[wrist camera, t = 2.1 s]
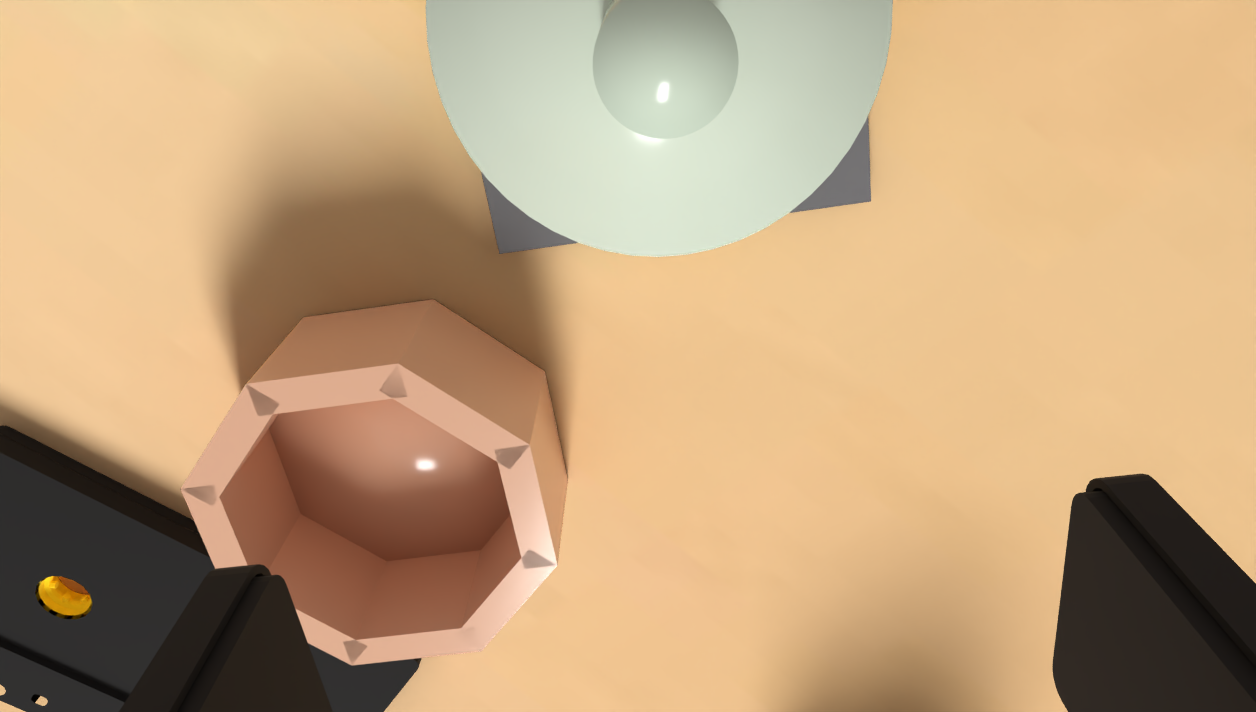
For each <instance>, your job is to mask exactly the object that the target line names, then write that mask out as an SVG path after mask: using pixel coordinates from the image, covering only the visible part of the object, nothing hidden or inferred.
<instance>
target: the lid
mask: <svg viewBox="0 0 1256 712" xmlns="http://www.w3.org/2000/svg"><path fill="white" fill-rule="evenodd" d="M892 4H893V0H426V24H427V42H428V48H429V53H430V59H431V65H432V71H433V75H434V78H435V81H436V85H437V88H438V91H439V95H440V98H441V101H442V104H443V106H444V108H445V111H446V113H447V115H448V117H449V120H450V122H451V124H452V127H453V129H454V131H455V132H456V134H457V136H458V138H459V139H460V141H461V143H462V144H463V146H464V148H465V149H466V151H467V153H468V154H469V156H470V157H471V159H472V160H473V161H474V162H475V164H476V165H477V166H478V168H479V169H480V170H481V172H482V173H483V174H484V175H485V177H486V178H487V179H488V180H489V181H490V182H491V183H492V184H493V185H494V186H495V187H496V188H497V189H498V190H499V191H500V192H501V193H502V194H503V195H504V196H505V197H506V198H507V199H508V200H509V201H510V202H511V203H513V204H514V205H515V206H516V207H518V208H519V209H520V210H521V211H523V212H524V213H525V214H526V215H528V216H529V217H531V218H532V219H534V220H535V221H537V222H539V223H540V224H542V225H544V226H545V227H547V228H549V229H550V230H552V231H554V232H556V233H558V234H560V235H563V236H565V237H567V238H569V239H571V240H574V241H576V242H578V243H581V244H584V245H588V246H591V247H594V248H597V249H601V250H604V251H609V252H615V253H621V254H626V255H633V256H654V257H662V256H675V255H687V254H692V253H697V252H702V251H707V250H712V249H715V248H718V247H721V246H724V245H727V244H730V243H733V242H736V241H739V240H741V239H743V238H746V237H748V236H750V235H752V234H754V233H756V232H758V231H760V230H762V229H764V228H766V227H768V226H769V225H771V224H772V223H774V222H775V221H777V220H779V219H780V218H782V217H783V216H785V215H786V214H788V213H789V212H791V211H792V210H793V209H794V208H795V207H797V206H798V205H799V204H800V203H802V202H803V201H804V200H805V199H806V198H808V197H809V196H810V195H811V194H812V193H813V192H814V191H815V190H816V189H817V188H818V187H819V186H820V185H821V184H822V183H823V182H824V181H825V180H826V179H827V178H828V176H829V175H830V174H831V173H832V172H833V171H834V169H835V168H836V167H837V165H838V164H839V163H840V161H841V160H842V159H843V157H844V156H845V155H846V153H847V152H848V151H849V149H850V148H851V146H852V144H853V142H854V141H855V139H856V137H857V136H858V134H859V132H860V130H861V129H862V127H863V125H864V123H865V121H866V119H867V117H868V114H869V112H870V110H871V107H872V105H873V103H874V100H875V98H876V96H877V93H878V90H879V86H880V83H881V79H882V76H883V73H884V69H885V66H886V61H887V55H888V49H889V43H890V37H891V28H892Z"/></svg>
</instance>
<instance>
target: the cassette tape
mask: <svg viewBox="0 0 1256 712" xmlns="http://www.w3.org/2000/svg"><path fill="white" fill-rule="evenodd" d="M58 463H59V464H58ZM60 464H61V465H60ZM62 465H63V466H62ZM64 466H65V467H64ZM66 467H67V468H66ZM68 468H69V469H68ZM70 469H71V470H70ZM72 470H73V471H72ZM137 503H138V504H137ZM139 504H140V505H139ZM141 505H142V506H141ZM143 506H144V507H143ZM145 507H146V508H145ZM147 508H148V509H147ZM149 509H150V510H149ZM151 510H152V511H151ZM214 569H215V567H214V565H213V563H212V560H211V558H210V556H209V553H208V551H207V549H206V547H205V544H204V542H203V540H202V537H201V535H200V533H199V530H198V528H197V526H196V524H195V521H193V520H191V519H189V518H187V517H186V516H184V515H182V514H180V513H178V512H176V511H174V510H172V509H170V508H168V507H166V506H164V505H162V504H160V503H158V502H156V501H154V500H152V499H150V498H148V497H146V496H144V495H142V494H140V493H138V492H136V491H134V490H132V489H130V488H128V487H126V486H124V485H123V484H121V483H119V482H117V481H115V480H113V479H111V478H109V477H107V476H105V475H103V474H101V473H99V472H97V471H95V470H93V469H91V468H89V467H87V466H85V465H83V464H81V463H79V462H77V461H75V460H73V459H71V458H69V457H67V456H65V455H63V454H62V453H60V452H58V451H56V450H54V449H52V448H50V447H48V446H46V445H44V444H42V443H40V442H38V441H36V440H34V439H32V438H30V437H28V436H26V435H24V434H22V433H20V432H18V431H16V430H14V429H12V428H10V427H8V426H0V684H1V685H2V686H3V687H5V690H6V692H5V694H4V695H1V696H0V701H2V702H5V703H7V704H9V705H12V706H14V707H16V708H19V709H21V710H23V711H26V712H119V711H120V709H121V708H122V706H123V705H124V703H125V701H126V700H127V698H128V697H129V695H130V694H131V692H132V690H133V689H134V687H135V686H136V684H137V683H138V681H139V680H140V678H141V676H142V675H143V673H144V672H145V670H146V669H147V667H148V665H149V664H150V662H151V661H152V659H153V658H154V656H155V655H156V653H157V651H158V650H159V648H160V647H161V645H162V644H163V642H164V640H165V639H166V637H167V636H168V634H169V633H170V631H171V629H172V628H173V626H174V625H175V623H176V622H177V620H178V619H179V617H180V615H181V614H182V612H183V611H184V609H185V608H186V606H187V604H188V603H189V601H190V600H191V598H192V597H193V595H194V594H195V592H196V590H197V589H198V587H199V586H200V584H201V583H202V581H203V579H204V578H205V576H206V575H207V574H208V573H209V572H210V571H212V570H214ZM58 576H60V577H61V576H63V577H66V578H69V579H72V580H74V581H76V582H77V583H79V584H80V585H82V586H83V587H84V588H85V589H86V590H87V591H88V593H89V595H83V594H79V593H76V592H74V591H72V590H70V589H68V588H67V587H66V586H65V585H64V584H63V583H62V582H61V581H60V579H59V577H58ZM308 645H309V648H310V650H311V653H312V656H313V659H314V661H315V664H316V667H317V670H318V672H319V675H320V678H321V681H322V683H323V686H324V689H325V692H326V694H327V697H328V700H329V703H330V705H331V708H332V711H333V712H384V711H385V709H386V708H387V707H388V706H389V704H390V703H391V702H392V701H393V699H394V698H395V697H396V696H397V694H398V693H399V692H400V691H401V689H402V688H403V687H404V686H405V684H406V683H407V682H408V681H409V679H410V678H411V677H412V676H413V674H414V673H415V672H416V671H417V669H418V667H419V664H420V661H421V658H415V659H406V660H397V661H388V662H379V663H370V664H361V665H350V664H348V663H346V662H344V661H342V660H340V659H338V658H336V657H334V656H332V655H330V654H328V653H326V652H325V651H323V650H321V649H319V648H317V647H315V646H313V645H311V644H309V643H308ZM40 696H43V697H45V698H46V699H47V700H48V703H47V705H45V706H41V705H38V704H36V703H35V702H36V701H37V699H38V698H39V697H40Z"/></svg>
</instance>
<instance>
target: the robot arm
mask: <svg viewBox="0 0 1256 712" xmlns="http://www.w3.org/2000/svg"><path fill="white" fill-rule="evenodd" d="M1053 677H1054V681H1055V685H1056V688H1057V691H1058V694H1059V696H1060V698H1061V700H1062V702H1063V704H1064V705H1065V707H1066V709H1067V711H1068V712H1256V584H1255V583H1254V581H1253V580H1252V579H1251V578H1250V577H1249V576H1248V575H1247V574H1246V573H1245V572H1244V571H1243V570H1242V569H1241V568H1240V567H1239V566H1238V565H1237V564H1236V563H1235V562H1234V561H1233V560H1232V559H1231V558H1230V557H1229V556H1228V555H1227V554H1226V553H1225V552H1224V551H1223V550H1222V548H1221V547H1220V546H1219V545H1218V544H1217V543H1216V542H1215V541H1214V540H1213V539H1212V538H1211V537H1210V536H1209V535H1208V534H1207V533H1206V532H1205V531H1204V530H1203V529H1202V528H1201V527H1200V526H1199V525H1198V524H1197V523H1196V522H1195V521H1194V520H1193V519H1192V518H1191V517H1190V516H1189V514H1188V513H1187V512H1186V511H1185V510H1184V509H1183V508H1182V507H1181V506H1180V505H1179V504H1178V503H1177V502H1176V501H1175V500H1174V499H1173V498H1172V497H1171V496H1170V495H1169V494H1168V493H1167V492H1166V491H1165V490H1164V489H1163V488H1162V487H1161V486H1160V485H1159V484H1158V483H1157V481H1156V480H1154V479H1153V478H1152V477H1150V476H1149V475H1146V474H1135V475H1125V476H1115V477H1105V478H1096V479H1093V480H1091V481H1090V482H1089V484H1088V485H1087V488H1086V492H1084V493H1078V494H1076V495H1075V496H1074V498H1073V501H1072V506H1071V514H1070V523H1069V531H1068V540H1067V548H1066V556H1065V565H1064V573H1063V581H1062V590H1061V598H1060V607H1059V615H1058V623H1057V632H1056V640H1055V648H1054V657H1053ZM119 712H333V711H332V708H331V705H330V703H329V700H328V697H327V694H326V692H325V689H324V686H323V683H322V681H321V678H320V675H319V672H318V670H317V667H316V664H315V661H314V659H313V656H312V653H311V650H310V648H309V645H308V642H307V639H306V637H305V634H304V631H303V628H302V626H301V623H300V620H299V617H298V615H297V612H296V609H295V606H294V604H293V601H292V598H291V595H290V593H289V590H288V587H287V584H286V582H285V580H284V579H283V578H282V577H281V576H280V575H271V573H270V571H269V569H268V568H267V567H266V566H265V565H261V564H256V565H246V566H236V567H226V568H216V569H214V570H212V571H210V572H209V573H208V574H207V575H206V576H205V578H204V579H203V581H202V583H201V584H200V586H199V587H198V589H197V590H196V592H195V594H194V595H193V597H192V598H191V600H190V601H189V603H188V604H187V606H186V608H185V609H184V611H183V612H182V614H181V615H180V617H179V619H178V620H177V622H176V623H175V625H174V626H173V628H172V629H171V631H170V633H169V634H168V636H167V637H166V639H165V640H164V642H163V644H162V645H161V647H160V648H159V650H158V651H157V653H156V655H155V656H154V658H153V659H152V661H151V662H150V664H149V665H148V667H147V669H146V670H145V672H144V673H143V675H142V676H141V678H140V680H139V681H138V683H137V684H136V686H135V687H134V689H133V690H132V692H131V694H130V695H129V697H128V698H127V700H126V701H125V703H124V705H123V706H122V708H121V709H120V711H119Z"/></svg>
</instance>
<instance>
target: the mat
mask: <svg viewBox="0 0 1256 712" xmlns="http://www.w3.org/2000/svg"><path fill="white" fill-rule="evenodd" d="M481 173H482V172H481ZM482 177H483V182H484V186H485V191H486V195H487V200H488V204H489V209H490V213H491V218H492V222H493V227H494V231H495V236H496V240H497V245H498V249H499V254H503V253H510V252H517V251H524V250H531V249H538V248H545V247H552V246H559V245H566V244H573V243H578V242H576V241H574V240H571V239H569V238H567V237H565V236H563V235H560V234H558V233H556V232H554V231H552V230H550V229H549V228H547V227H545V226H544V225H542V224H540V223H539V222H537V221H535V220H534V219H532V218H531V217H529V216H528V215H526V214H525V213H524V212H523V211H521V210H520V209H519V208H518V207H516V206H515V205H514V204H513V203H511V202H510V201H509V200H508V199H507V198H506V197H505V196H504V195H503V194H502V193H501V192H500V191H499V190H498V189H497V188H496V187H495V186H494V185H493V184H492V183H491V182H490V181H489V180H488V179H487V178H486V177H485V175H484V174H483V173H482ZM870 201H871V189H870V158H869V127H868V117H867V119H866V121H865V123H864V125H863V127H862V129H861V130H860V132H859V134H858V136H857V137H856V139H855V141H854V142H853V144H852V146H851V148H850V149H849V151H848V152H847V153H846V155H845V156H844V157H843V159H842V160H841V161H840V163H839V164H838V165H837V167H836V168H835V169H834V171H833V172H832V173H831V174H830V175H829V176H828V178H827V179H826V180H825V181H824V182H823V183H822V184H821V185H820V186H819V187H818V188H817V189H816V190H815V191H814V192H813V193H812V194H811V195H810V196H809V197H808V198H806V199H805V200H804V201H803V202H802V203H800V204H799V205H798V206H797V207H795V208H794V209H793V210H792V211H791V212H789V213H792V212H799V211H806V210H813V209H820V208H827V207H834V206H841V205H849V204H856V203H863V202H870Z"/></svg>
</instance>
